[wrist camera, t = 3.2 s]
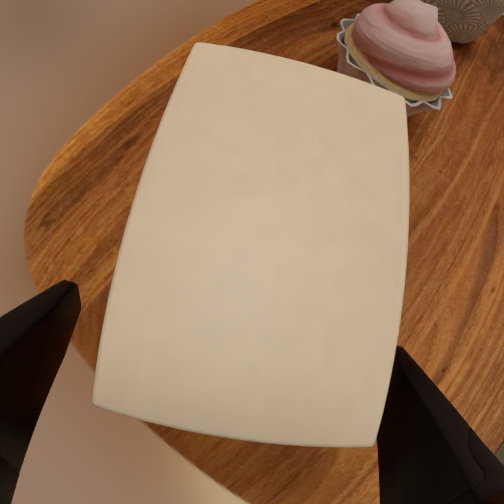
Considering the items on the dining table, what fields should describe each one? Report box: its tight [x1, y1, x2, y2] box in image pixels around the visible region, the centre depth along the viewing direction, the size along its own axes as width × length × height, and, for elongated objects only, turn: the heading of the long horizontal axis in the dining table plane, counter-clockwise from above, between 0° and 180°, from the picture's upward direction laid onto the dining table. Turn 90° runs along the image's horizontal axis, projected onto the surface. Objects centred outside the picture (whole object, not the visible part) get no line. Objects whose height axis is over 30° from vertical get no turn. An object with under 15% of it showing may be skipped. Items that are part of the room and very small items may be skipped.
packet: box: [92, 42, 409, 448], centre depth 11 cm, size 6×4×14 cm
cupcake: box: [336, 0, 456, 118], centre depth 17 cm, size 9×9×10 cm
